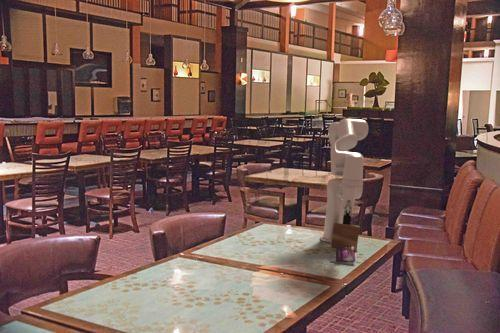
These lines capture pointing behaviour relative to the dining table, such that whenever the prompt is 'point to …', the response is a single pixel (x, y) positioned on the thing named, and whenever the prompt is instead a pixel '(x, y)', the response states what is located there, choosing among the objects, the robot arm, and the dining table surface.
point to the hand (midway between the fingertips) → (346, 221)
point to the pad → (333, 260)
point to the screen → (345, 236)
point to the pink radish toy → (344, 253)
